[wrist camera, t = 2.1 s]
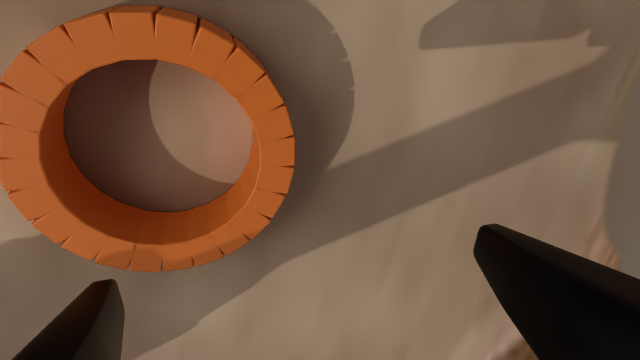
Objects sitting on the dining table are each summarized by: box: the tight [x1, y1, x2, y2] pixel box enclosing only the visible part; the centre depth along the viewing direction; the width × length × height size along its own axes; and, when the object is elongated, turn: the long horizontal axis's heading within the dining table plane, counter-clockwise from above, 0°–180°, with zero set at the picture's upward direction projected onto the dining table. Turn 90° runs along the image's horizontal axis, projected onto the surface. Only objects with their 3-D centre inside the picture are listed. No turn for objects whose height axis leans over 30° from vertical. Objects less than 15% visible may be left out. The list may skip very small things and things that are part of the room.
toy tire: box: [0, 5, 295, 272], centre depth 15 cm, size 10×10×2 cm
